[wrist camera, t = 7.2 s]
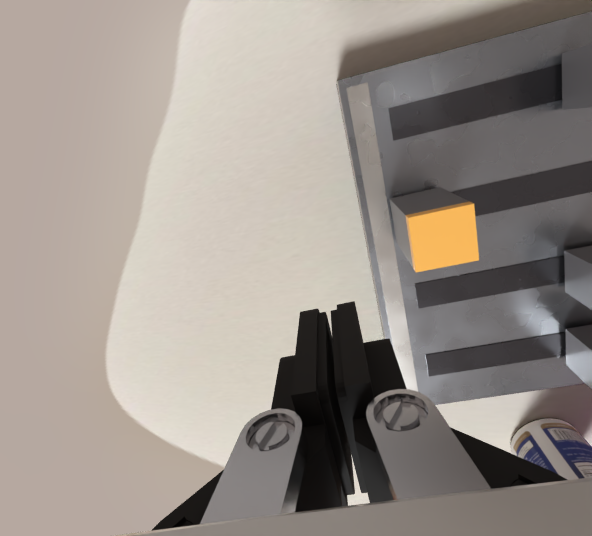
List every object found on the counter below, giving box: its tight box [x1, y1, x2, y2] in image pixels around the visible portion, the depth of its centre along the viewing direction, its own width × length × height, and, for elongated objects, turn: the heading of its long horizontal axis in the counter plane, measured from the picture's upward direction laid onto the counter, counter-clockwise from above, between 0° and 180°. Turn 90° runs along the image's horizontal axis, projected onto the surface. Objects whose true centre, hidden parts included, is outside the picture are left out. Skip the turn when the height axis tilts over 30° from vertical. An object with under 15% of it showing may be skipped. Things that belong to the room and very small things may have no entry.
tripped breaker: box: [390, 187, 479, 272], centre depth 21 cm, size 3×3×5 cm
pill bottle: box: [511, 418, 592, 480], centre depth 27 cm, size 5×5×10 cm
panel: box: [336, 11, 592, 405], centre depth 25 cm, size 18×23×2 cm
